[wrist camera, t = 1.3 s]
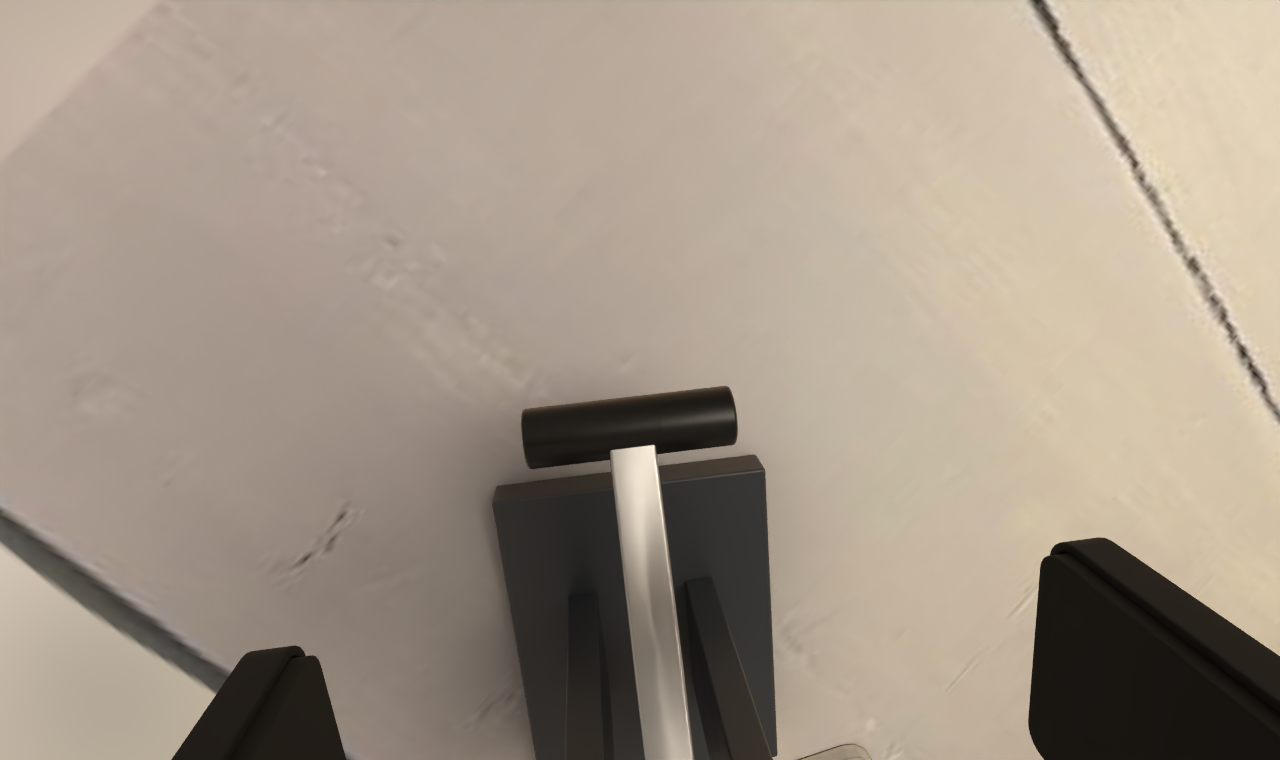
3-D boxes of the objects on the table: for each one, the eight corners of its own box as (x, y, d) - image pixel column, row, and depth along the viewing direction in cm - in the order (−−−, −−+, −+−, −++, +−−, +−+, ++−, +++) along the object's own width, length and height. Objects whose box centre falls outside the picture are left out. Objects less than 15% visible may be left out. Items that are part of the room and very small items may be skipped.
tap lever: (528, 413, 18) (515, 404, 16) (720, 391, 18) (736, 378, 16) (584, 973, 16) (579, 1057, 14) (795, 939, 17) (825, 1015, 14)
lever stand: (495, 485, 24) (412, 816, 12) (756, 453, 24) (935, 740, 12) (542, 763, 28) (516, 1239, 15) (769, 731, 28) (917, 1167, 16)
